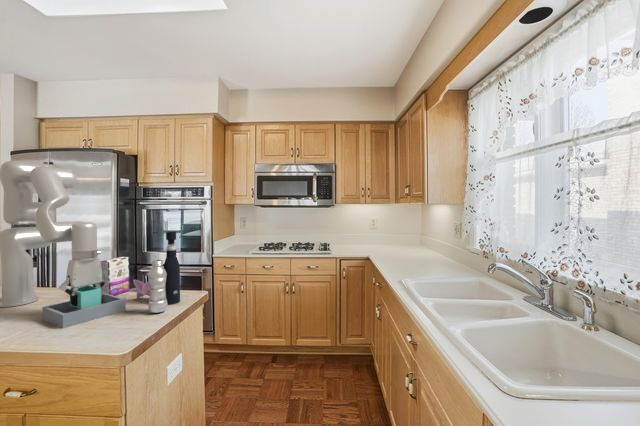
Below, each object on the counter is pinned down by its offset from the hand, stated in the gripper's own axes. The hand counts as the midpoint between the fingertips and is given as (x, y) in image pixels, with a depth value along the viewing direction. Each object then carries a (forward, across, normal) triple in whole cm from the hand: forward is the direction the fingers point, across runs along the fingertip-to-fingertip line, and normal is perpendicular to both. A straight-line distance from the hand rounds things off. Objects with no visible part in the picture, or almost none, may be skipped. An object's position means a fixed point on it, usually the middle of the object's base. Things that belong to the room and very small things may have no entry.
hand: (85, 302), depth 113 cm
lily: (+5, -21, +2) cm, 22 cm away
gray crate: (+5, 0, 0) cm, 5 cm away
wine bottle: (+5, -25, +15) cm, 30 cm away
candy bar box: (+5, -20, -19) cm, 28 cm away
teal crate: (+1, 0, 0) cm, 1 cm away
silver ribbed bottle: (+5, -15, +21) cm, 26 cm away
